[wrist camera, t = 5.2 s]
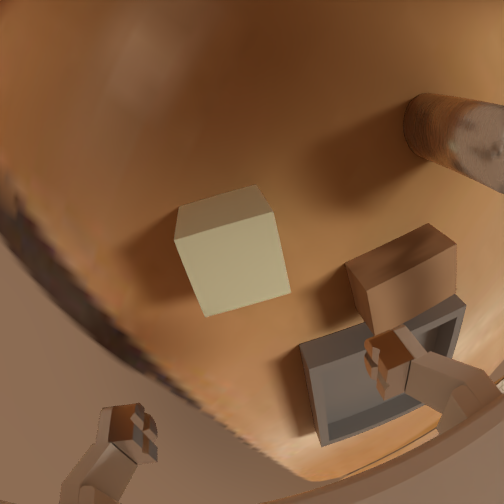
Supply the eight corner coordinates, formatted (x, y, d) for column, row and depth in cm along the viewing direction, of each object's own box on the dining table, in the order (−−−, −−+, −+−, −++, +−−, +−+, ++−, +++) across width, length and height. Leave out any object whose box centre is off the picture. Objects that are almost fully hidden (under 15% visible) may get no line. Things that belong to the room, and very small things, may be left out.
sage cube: (255, 183, 20) (273, 211, 15) (272, 251, 22) (291, 292, 18) (178, 206, 20) (173, 240, 15) (202, 271, 22) (205, 317, 18)
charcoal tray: (449, 288, 27) (466, 305, 25) (427, 382, 35) (438, 397, 32) (299, 344, 27) (308, 369, 24) (314, 427, 35) (321, 447, 32)
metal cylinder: (449, 91, 18) (531, 107, 11) (453, 153, 21) (529, 186, 14) (399, 95, 18) (484, 108, 11) (406, 163, 21) (484, 201, 14)
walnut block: (426, 222, 23) (456, 243, 20) (430, 268, 26) (455, 293, 22) (343, 261, 24) (366, 290, 20) (355, 307, 26) (375, 337, 23)
